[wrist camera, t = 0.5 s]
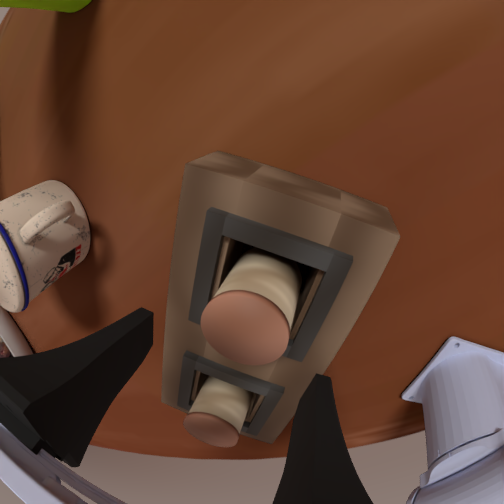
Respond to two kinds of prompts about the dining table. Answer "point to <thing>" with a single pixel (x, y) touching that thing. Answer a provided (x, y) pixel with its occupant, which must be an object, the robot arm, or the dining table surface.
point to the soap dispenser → (47, 4)
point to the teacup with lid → (39, 241)
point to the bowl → (11, 337)
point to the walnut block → (278, 242)
